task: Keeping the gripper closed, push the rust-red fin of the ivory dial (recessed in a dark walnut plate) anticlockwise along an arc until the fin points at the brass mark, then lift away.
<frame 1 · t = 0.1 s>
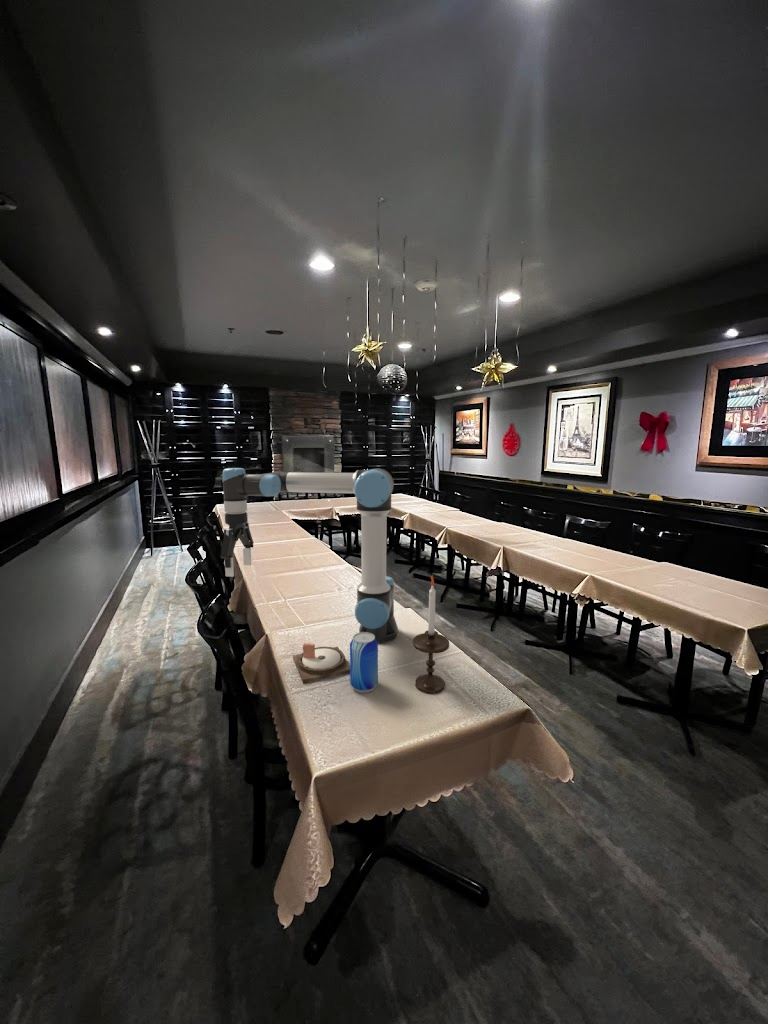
hand: (239, 570, 145), 28 cm above the table, fingers open, 13 cm apart
dial housing: (321, 665, 134), on the table
beer can: (364, 686, 123), on the table
dial: (321, 653, 134), point 4 cm above the table, hinge at 0.0°
candlestick: (429, 685, 123), on the table
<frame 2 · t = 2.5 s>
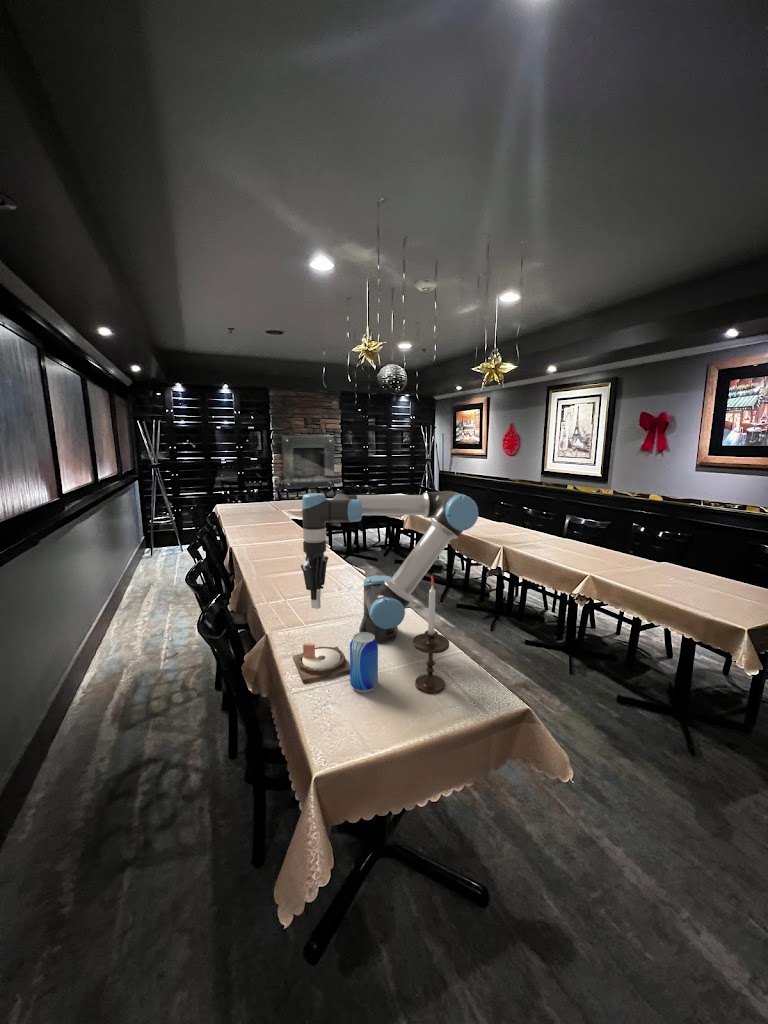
hand: (316, 607, 137), 18 cm above the table, fingers closed
nothing on the table moved.
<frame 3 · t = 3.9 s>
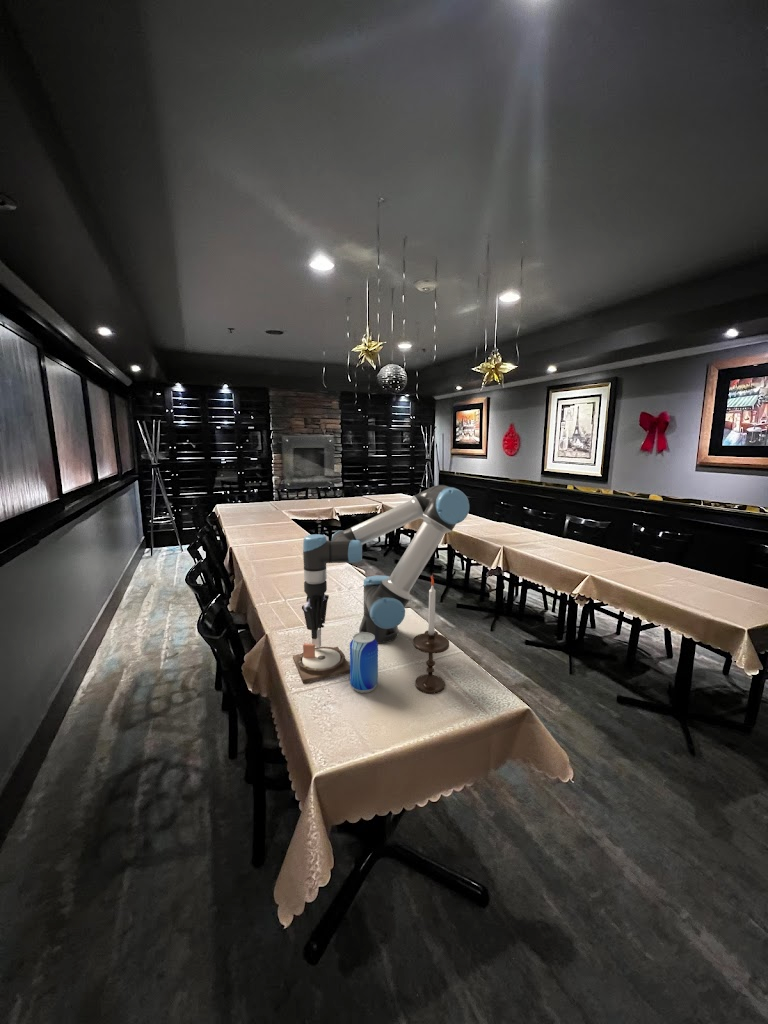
hand: (316, 645, 139), 4 cm above the table, fingers closed
nothing on the table moved.
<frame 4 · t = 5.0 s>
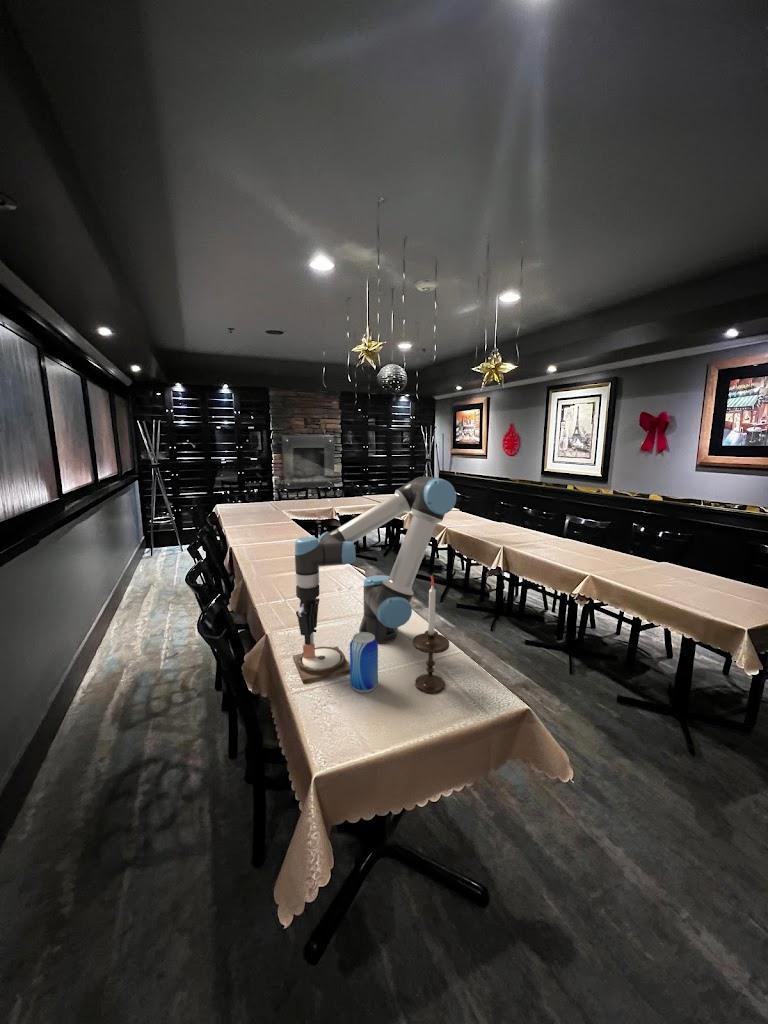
hand: (309, 651, 136), 4 cm above the table, fingers closed
dial: (321, 653, 134), point 4 cm above the table, hinge at 0.8°, touching gripper
everything else where it was.
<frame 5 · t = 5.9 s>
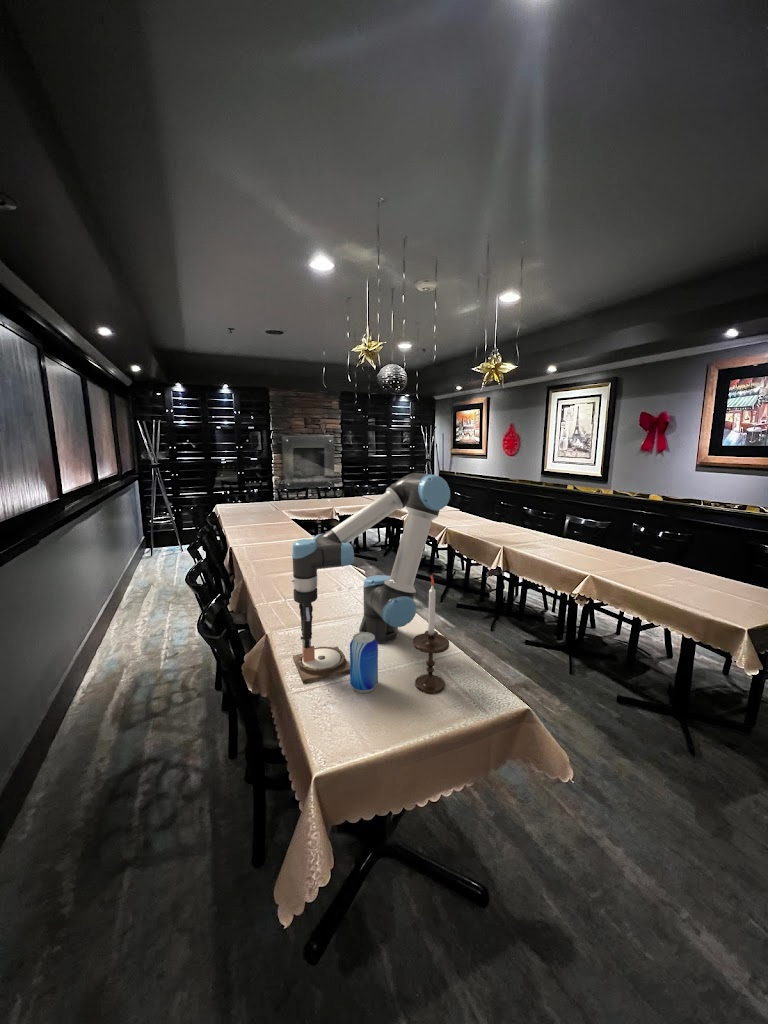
hand: (306, 654, 133), 4 cm above the table, fingers closed
dial: (321, 653, 134), point 4 cm above the table, hinge at 29.0°, touching gripper
everything else where it was.
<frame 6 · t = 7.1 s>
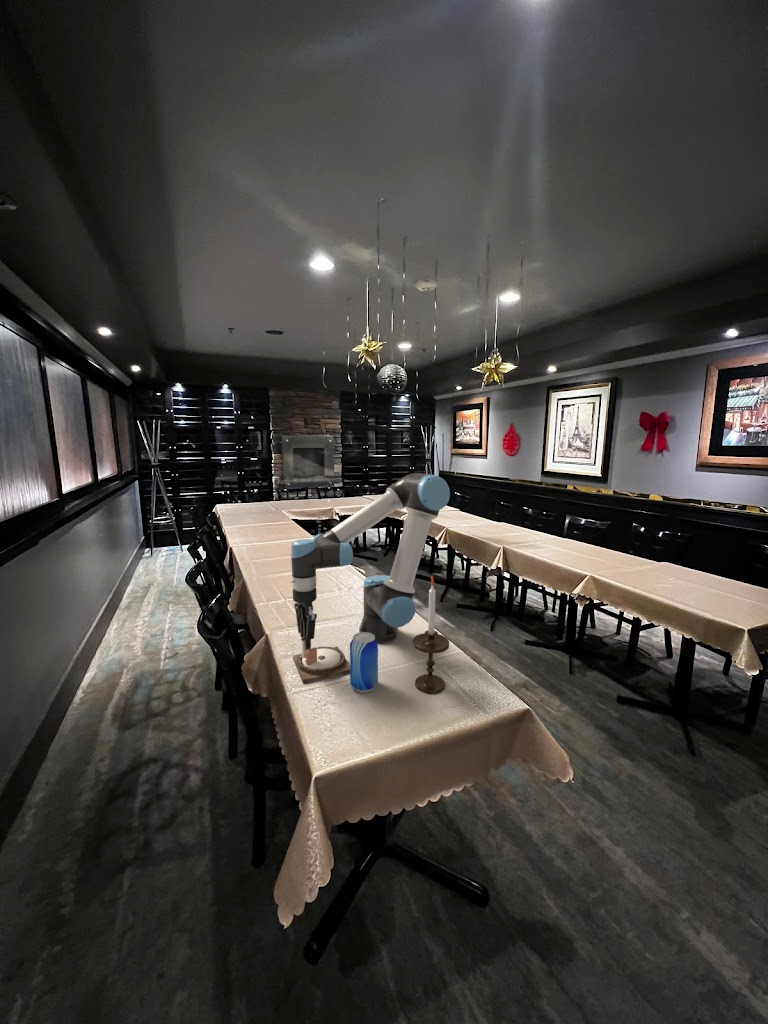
hand: (306, 656, 132), 4 cm above the table, fingers closed
dial: (321, 653, 134), point 4 cm above the table, hinge at 56.4°
everything else where it was.
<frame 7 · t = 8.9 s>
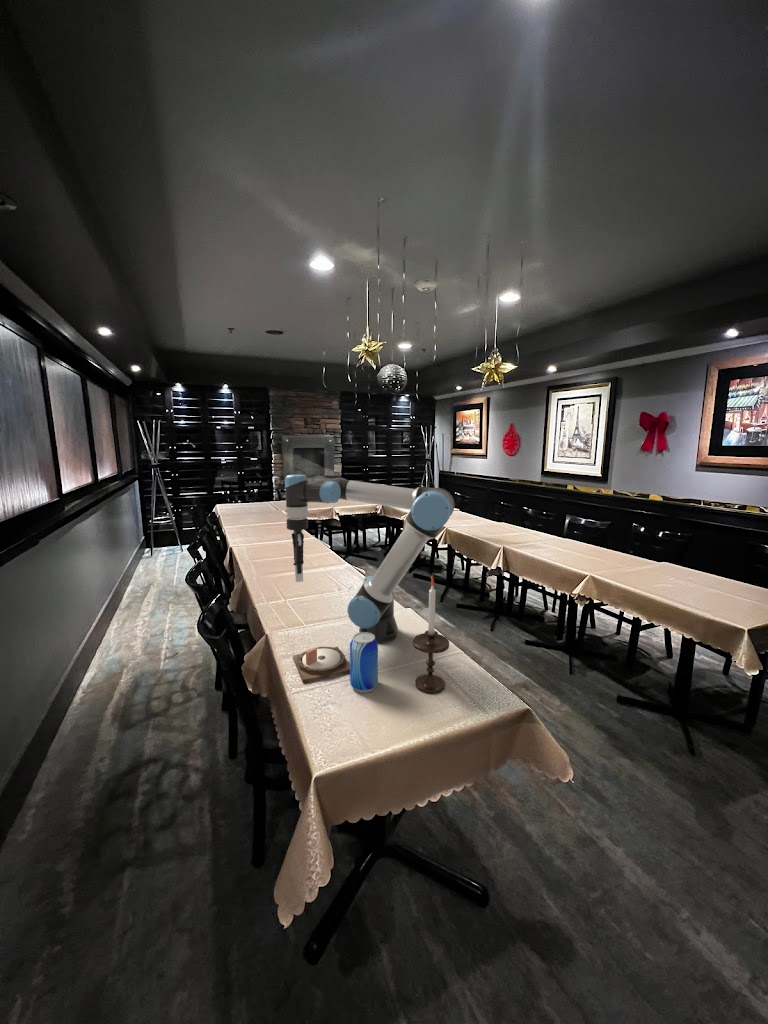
hand: (299, 581, 148), 23 cm above the table, fingers closed
nothing on the table moved.
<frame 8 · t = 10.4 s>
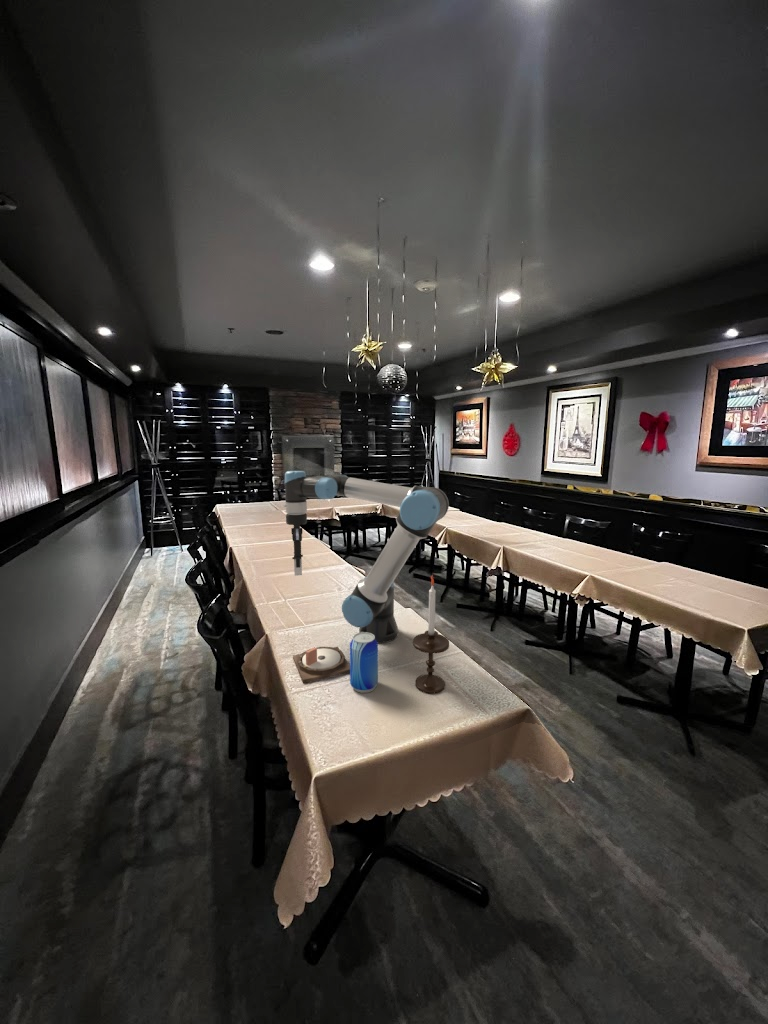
hand: (298, 574, 152), 24 cm above the table, fingers closed
nothing on the table moved.
at the end: dial at +56° (first picture: +0°) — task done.
